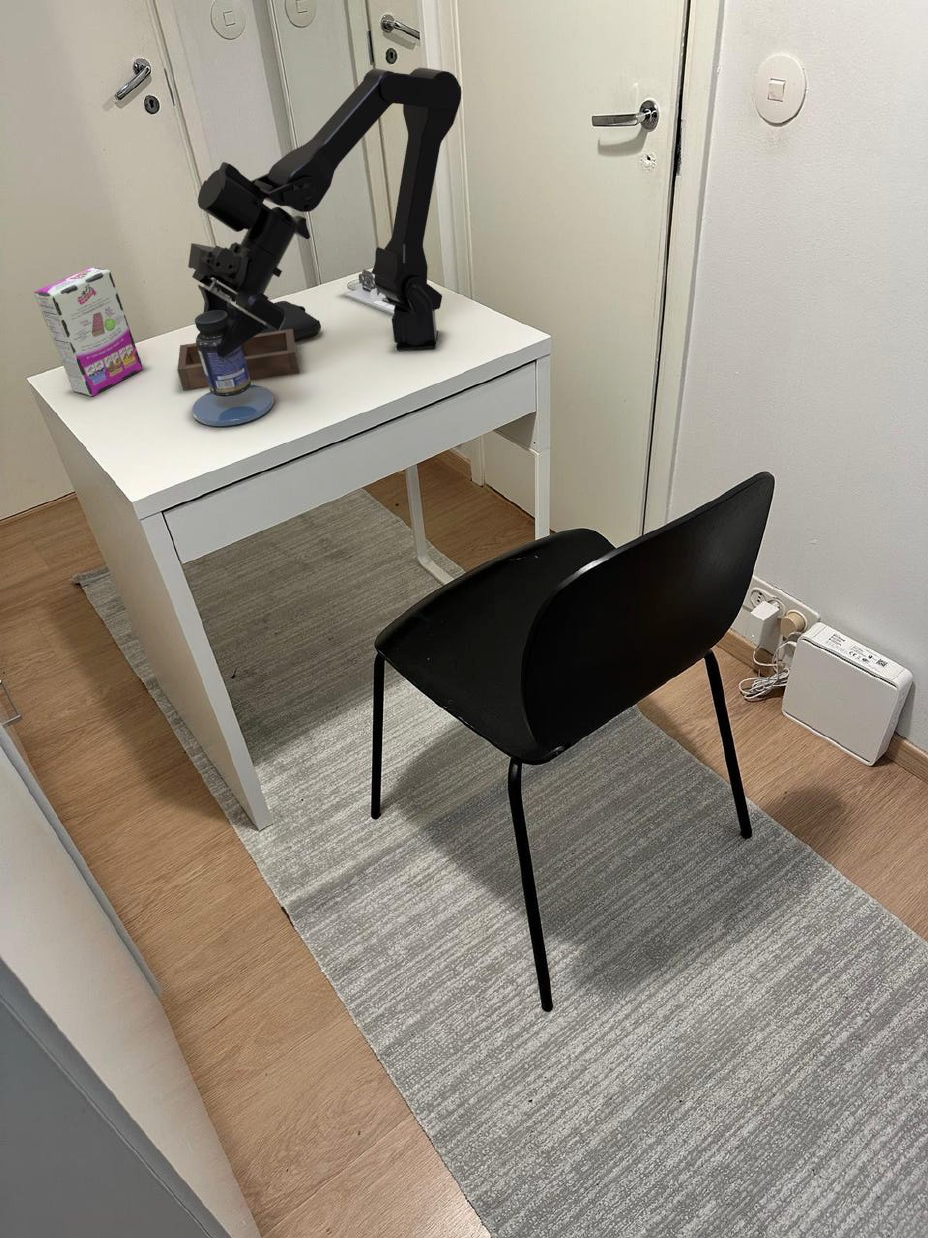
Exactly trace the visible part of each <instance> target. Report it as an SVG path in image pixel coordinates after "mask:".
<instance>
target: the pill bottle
mask: <svg viewBox="0 0 928 1238" xmlns="http://www.w3.org/2000/svg"><path fill="white" fill-rule="evenodd" d="M228 322H229V317H228V314H227V312H225V311H222V310H214V311H209V312H205V313H203V312H202V313H199V314H198V315H197V316H195V318H194V324H195V327H196V329H197V331H198V332H199V333H198V334H197V335H196V338H195V343H196V345H197V348H198V352H199V355H200V358H201V362H202V365H203V369H204V372H205V375H206V378H207V382H208V385H209V387H208V388H209V392H211V393H212V394H214V395H216V396H221V397H227V396H235V395H238V394H241V393H243V392H245V391H246V390H247V389H249V387H250V385H252V380H250V376H249V373H248V369H247V365H246V361H245V358H244V354H243V350H242V346H240V347H238V348H237V349H235V350H234V351H233V352H231V353H230V354H228V355H227V356H226V357H224V358H222V357H220V356H219V355H217V351H218V348H219V345H220V342H221V339H222V337H223V334H224V332H225V329H226V327H227V324H228Z"/></svg>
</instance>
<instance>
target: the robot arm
mask: <svg viewBox="0 0 928 1238" xmlns="http://www.w3.org/2000/svg"><path fill="white" fill-rule="evenodd" d="M461 101H462V86H461V85H460V83H459V80H458V78H457V77H456V76H455V75H454V73H452V72H450V71H447V70H440V69H434V68H428V67H417V68H414V69H413V70H412V71H411V72H410V73H403V72H402V73H401V72H394V71H391V70H386V69H381V68H372V69H370V70H369V71H368V72H366V73H365V75H364V76H363V79H362V81H361V82H360V83H359V85H358V86H357V87H356V88H355V89H354V91H352V93H351V94H350V95H348V97H347V98H346V99H345V100H344V101H343V103H342V104H341V105H340V106H339V107H338V108H337V109H336V111H335V112H334V113H333V114H332V115H331V117H330V118H329V119H328V120H327V121H326V122H325V123H324V124H323V126H322V127H321V128H320V129H319V130H318V131H317V132H316V133H315V135H314V136H313V137H312V138H311V139H310V140H309V141H307V142H306V143H304V144H303V145H300V146H299V147H297V148H294V149H293V150H291V151H289V152H288V153H286V154H285V155H284V156H283V157H282V158H280V159H279V160H277V161H276V162H275V163H274V164H273V165H272V166H271V168H270V169H269V171H268V173H265V174H264V175H261V176H259V177H256V178H254V179H252V180H250V179H249V178H247V177H246V176H245V175H244V174H242V173H241V172H240V171H239V169H238V168H236V167H235V166H234V165H232V164H231V163H228V162H226V161H223V162H221V164H220V166H219V168H218V169H216V170H214V171H213V172H212V173H211V174H210V176H208V178H207V179H206V180H204V181H203V183H202V185H201V187H200V190H199V192H198V197H197V205H198V207H199V209H200V210H202V211H203V212H205V213H206V214H208V215H209V216H211V217H213V218H214V219H216V220H217V221H218V222H220V223H222V224H223V225H224V226H226V227H227V228H229V229H230V230H232V231H234V232H235V233H240V232H242V231H244V230H246V232H245V235H244V236H243V238H242V240H241V242H240V243H238V242H236V241H234V242H232V243H231V244H230V246H229V247H227V246H225V247H221V246H219V245H215V246H209V245H204V244H200V243H194V242H192V243H190V251H189V257H188V264H187V265H188V266H187V267H188V268H189V269H193V270H194V272H193V274H192V275H191V277H192V278H193V279H194V280H196V281H198V282H199V283H201V284H203V286H202V285H201V284H198V285H197V287H198V290H200V293H201V296H202V298H203V301H204V303H203V304H204V305H203V312H202V313H205V312H209V311H214V310H222V311H225V312H227V314H228V317H229V322H228V324H227V327H226V329H225V332H224V334H223V337H222V339H221V342H220V345H219V348H218V351H217V355H219V356H220V357H222V358H224V357H226V356H227V355H228V354H230V353H231V352H233V351H234V350H235V349H237V348H238V347H240V346H241V345H242V344H244V343H245V342H247V341H248V340H250V339H251V338H253V337H254V336H256V335H257V334H259V333H261V332H262V331H264V330H268V329H269V327H268V326H266V325H265V324H266V323H268V324H269V325H271V326H273V327H274V328H276V329H278V330H279V331H280V329H281V327H282V326H283V324H284V322H285V320H286V316H285V312H284V309H282V308H281V307H279V306H277V305H276V304H274V303H275V302H273V301H271V300H269V296H268V295H266V294H265V292H266V290H267V288H268V287H269V284H270V282H271V281H272V280H273V279H272V278H273V277H274V276H275V277H277V278H280V276H281V275H282V273H283V270H281V269H280V268H279V265H280V264H281V261H282V259H283V258H284V255H285V254H286V252H287V250H288V248H289V246H290V244H291V242H292V240H293V238H294V236H295V235H296V236H299V237H301V238H303V239H305V240H309V239H310V238H311V233H310V231H309V228H308V225H307V219H306V217H303V216H301V215H296V216H295V215H294V216H293V215H292V214H291V213H289V212H288V211H287V210H285V209H284V208H283V207H288V208H290V209H293V210H295V211H297V212H300V213H310V212H312V211H314V210H316V209H317V207H318V206H319V205H320V204H321V202H322V201H323V199H324V197H325V195H326V194H327V192H328V191H329V189H330V188H331V186H332V182H333V178H334V176H335V172H336V170H337V169H338V167H339V165H340V163H341V162H343V160H344V159H345V158H346V157H347V155H349V153H350V152H351V151H352V150H353V149H354V147H356V145H358V143H359V142H360V141H361V140H362V139H363V137H364V136H365V135H366V134H367V133H368V132H369V131H370V129H371V128H372V127H373V126H374V125H375V124H376V122H377V121H378V120H379V119H380V118H381V117H382V116H383V114H385V112H386V111H387V110H388V109H389V108H390V106H392V105H393V104H397V105H403V106H402V114H403V118H404V123H405V127H406V132H407V140H406V141H407V142H406V148H405V153H404V159H403V167H402V172H401V179H400V180H401V181H400V185H399V191H398V197H397V203H396V204H397V205H396V209H395V216H394V222H393V229H392V235H391V238H390V240H389V241H388V243H387V244H386V246H385V247H384V248H382V247H381V246H380V247H379V246H377V247H376V248H375V252H374V255H375V258H374V266H373V268H372V270H371V271H370V272H371V273H372V274H373V277H374V282H375V286H376V287H377V288H378V290H379V292H381V293H382V294H383V295H385V297H386V299H387V301H388V302H389V303H392V304H394V305H395V308H394V314H393V315H391V316H392V317H391V326H392V327H391V328H392V333H393V334H392V335H393V342H394V343H395V344H396V346H395V349H396V350H397V351H416V350H434V349H436V348H437V345H438V339H439V335H440V332H439V330H438V329H437V320H436V311H438V310H439V309H441V304H442V300H443V294H442V293H440V292H439V291H438V290H437V289H435V288H434V287H433V286H431V285H430V284H429V283H428V271H429V269H428V268H429V267H428V266H429V265H428V262H427V257H426V253H425V249H424V241H425V235H426V229H427V223H428V218H429V211H430V207H431V201H432V195H433V189H434V185H435V178H436V173H437V167H438V161H439V155H440V150H441V145H442V142H443V140H444V139H445V138H446V136H447V135H448V133H449V131H450V130H451V129H452V127H453V126H454V124H455V120H456V117H457V114H458V111H459V108H460V105H461ZM264 201H267V202H268V203H271V204H274V205H277V206H275V207H272V208H270V207H269V206H267V205H266V204H264ZM231 302H233V303H235V305H236V306H235V305H234V304H232V303H231ZM237 306H238V307H237Z"/></svg>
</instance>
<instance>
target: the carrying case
mask: <svg viewBox="0 0 928 1238" xmlns="http://www.w3.org/2000/svg"><path fill="white" fill-rule="evenodd" d="M273 303H274V304H276V305H277V306H279V307H281V308H282V309H284V312H285V316H286V320H285V322H284V324H283V326H282V327H281V329H280V331H281V330H287V329H293V334H294V339H295V344H296V343H298V342H302V341H306V340H309V339H311V338H315V337H316V336H318V335H319V332H321V330H322V324H321V321H320V320H319V319H317V318H315V317H313V316H312V315H311V314H309V313H308V312H306V308H305V306H302V305H297V304H295V303H291V302H289V301H288V300H279V301H276V302H273ZM265 325H266V326H268V327H269V329H268V330H264V331H262V332H261V333H268V332H274V331H279V330H278V329H276V328H274V327H273V326H271V325H269V324H268V323H266V324H265ZM261 333H259V334H261Z"/></svg>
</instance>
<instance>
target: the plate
mask: <svg viewBox="0 0 928 1238" xmlns="http://www.w3.org/2000/svg"><path fill="white" fill-rule="evenodd" d="M274 401H275V400H274V396H273V393H272V391H271V390H270V389H268V388H267V387H264V386H262V385H258V384H251V385H250V387H249V389H247V390H246V391H245V392H243V393H241V394H238V395H235V396H227V397H221V396H216V395H214V394H212V393H211V392H210V391H209V392H207V393H205V394H203V395H202V396H200V397H198V399H197V400H195V402H194V403H193V405H192V413H193V417H194V418H195V419H196V420H197V421H198V422H199V423H200V424H203V425H208V426H214V427H226V426H235V425H241V424H244V423H248V422H250V421H254V420H256V419H258V418H260V417H262V416H263V415H265V414H266V413H267V412H269V411H270V410H271V408H273V405H274Z"/></svg>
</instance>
